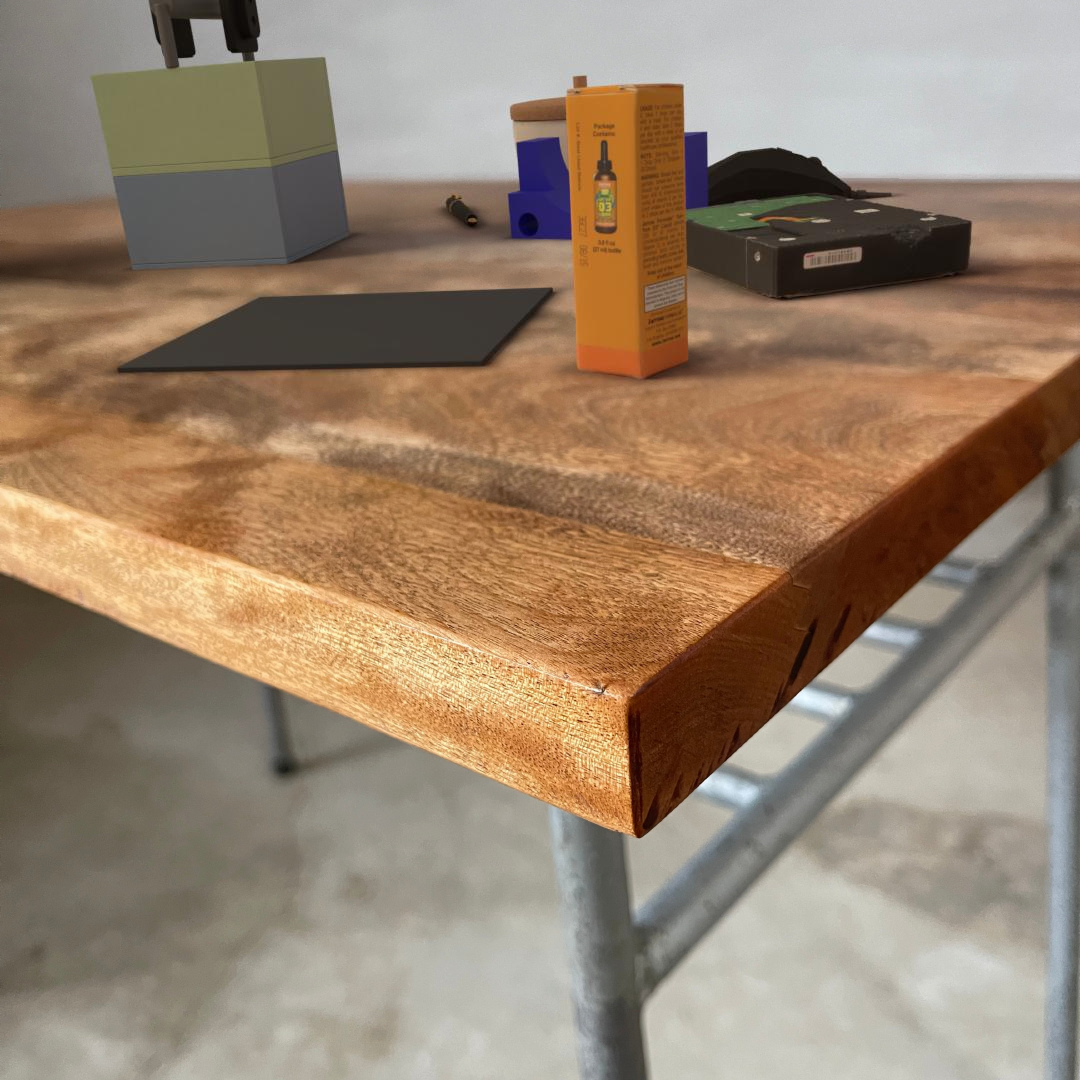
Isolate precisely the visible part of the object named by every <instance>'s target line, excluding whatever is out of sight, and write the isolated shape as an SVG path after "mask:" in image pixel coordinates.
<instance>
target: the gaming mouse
mask: <svg viewBox="0 0 1080 1080" xmlns="http://www.w3.org/2000/svg"><path fill="white" fill-rule="evenodd" d="M807 193H821V194H828V195H831V196H832V195H837V196H841V197H845V198H846V197H847V198H851V199H855V200H866V199H875V198H876V199H877V198H891V197H893V196H892V195H893V194H892V192H877V191H867V189H856V190H855V189H852V187H851V186H850V185H848V184H847V183H846V182H845V181H843V180H842V179H841V178H839V177H838V176H837V175H836V174H834V173H833V172H831V171H830V170H829V169H828V168H827V166H825V165H823V162H822V160H821V159H820V158H819V157H818V156H814V155H813V156H809V157H807V156H806V155H803V154H800V153H796V152H793V150H788V149H785V148H782V147H778V146H777V147H765V148H757V149H748V150H740V151H739V150H738V151H737V152H734V153H732V154H730V155H729V156H727V157H725V158H723V159H721V160H718V161H717V162H714V163H713V164H710V165H708V207H710V206H717V205H724V204H732V203H735V202H739V201H747V200H761V199H767V198H774V197H784V196H792V195H800V194H807Z"/></svg>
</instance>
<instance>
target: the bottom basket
mask: <svg viewBox="0 0 1080 1080" xmlns="http://www.w3.org/2000/svg"><path fill="white" fill-rule="evenodd" d="M112 182H113V186H114V190H115V195H116V199H117V204H118V210H119V214H120V218H121V222H122V227H123V233H124V236H125V237H124V238H125V241H126V245H127V250H128V254H129V260H130V263H131V268H132V271H140V270H141V271H143V270H144V271H145V270H164V269H166V270H167V269H189V268H214V267H216V268H218V267H219V268H220V267H241V266H243V267H244V266H264V265H266V266H267V265H268V266H269V265H288V264H290V263H293V262H294V261H298V260H299V259H302V258H304V257H306V256H308V255H310V254H313V253H314V252H317V251H319V250H322V249H324V248H326V247H329V246H330V245H332V244H334V243H337V242H339V241H341V240H343V239H346V238H347V237H350V236H351V233H350V226H349V217H348V211H347V204H346V197H345V189H344V183H343V176H342V168H341V161H340V154H339V149H338V150H336V151H333V152H329V153H325V154H321V155H317V156H313V157H309V158H305V159H302V160H298V161H294V162H290V163H286V164H282V165H278V166H274V167H267V168H250V169H234V170H218V171H201V172H185V173H168V174H152V175H136V176H119V177H113V176H112Z"/></svg>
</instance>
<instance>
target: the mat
mask: <svg viewBox="0 0 1080 1080" xmlns="http://www.w3.org/2000/svg"><path fill="white" fill-rule="evenodd" d="M553 293H554V288H553V287H522V288H520V287H519V288H518V287H517V288H494V289H493V288H492V289H490V288H489V289H461V290H458V289H457V290H431V291H429V290H428V291H404V292H403V291H402V292H373V293H369V292H368V293H341V294H340V293H339V294H312V295H284V296H281V295H280V296H260V297H257V298H255V299H253V300H252V301H251V300H250V301H249V302H247V303H245V304H243V305H241V306H239V307H237V308H235V309H232V310H231V311H229V312H227V313H224V314H222V315H221V316H219V317H216V318H214V319H212V320H210V321H209V322H207V323H204V324H203V325H200V326H199V327H196V328H195V329H194V328H193V329H192V330H190V331H188V332H186V333H184V334H182V335H180V336H178V337H176V338H174V339H172V340H170V341H168V342H166V343H164V344H162V345H160V346H158V347H155V348H153V349H152V350H149V351H147V352H145V353H143V354H142V355H139V356H137V357H135V358H134V359H131V360H130V361H127V362H125V363H123V364H122V365H119V366H117V367H116V370H117V373H118V374H127V373H128V374H129V373H133V374H134V373H184V372H185V373H186V372H187V373H189V372H191V373H192V372H239V371H241V372H242V371H243V372H245V371H246V372H247V371H296V370H298V371H299V370H300V371H304V370H350V369H351V370H354V369H355V370H357V369H362V370H363V369H414V368H415V369H416V368H467V367H468V368H469V367H471V368H472V367H474V368H475V367H476V368H477V367H478V368H479V367H483V366H484V365H485V364H486V363H488V361H489V360H490V359H491V358H492V357H494V355H495V354H496V353H497V352H498V351H499V350H500V349H501V348H502V347H503V345H505V343H506V342H507V341H508V340H509V339H510V338H511V337H512V336H513V335H514V334H515V333H516V332H517V331H518V330H519V329H520V328H521V327H522V326H523V324H524V323H526V321H527V320H528V319H529V318H530V317H531V316H532V315H533V314H534V313H535V312H536V311H537V310H538V308H540V306H542V304H544V302H545V301H546V300H547V299H548V298H549V297H550V296H551V295H552V294H553Z"/></svg>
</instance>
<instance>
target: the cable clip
mask: <svg viewBox="0 0 1080 1080" xmlns="http://www.w3.org/2000/svg"><path fill="white" fill-rule="evenodd" d="M684 138H685V188H686V191H685V196H686V209H694V208H702V207H708V167H709V163H708V162H709V160H708V159H709V153H708V152H709V150H708V148H709V147H708V146H709V145H708V131H684ZM516 147H517V154H516V158H517V171H518V172H517V173H518V181H519V182H518V184H519V190H517V191H513V192H512V191H511V192H510V193H507V200H508V214H509V225H510V227H509V228H510V236H511V237H510V238H511V240H512V239H514V240H515V239H518V240H522V239H523V240H572V225H571V202H570V179H569V171H568V169H567V167H566V164H565V162H564V159H563V156H562V152H561V147H560V140H559V137H545V138H535V139H530V140H525V141H520V142H516Z"/></svg>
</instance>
